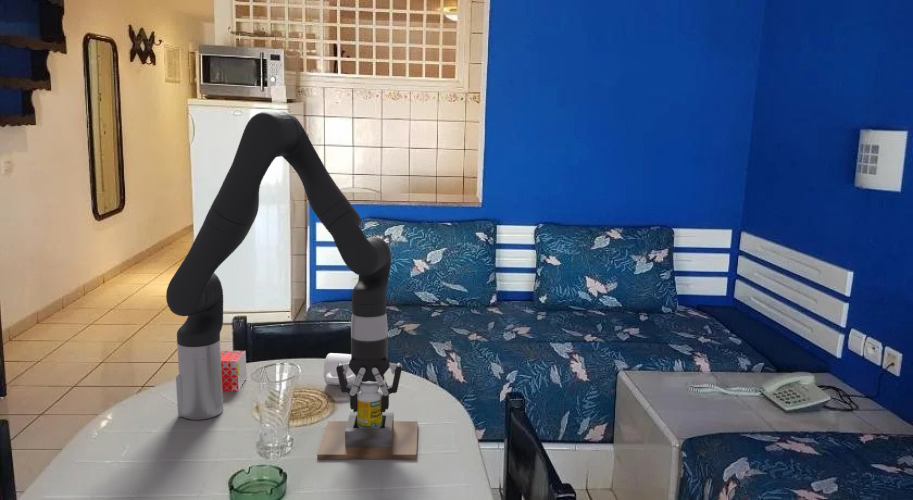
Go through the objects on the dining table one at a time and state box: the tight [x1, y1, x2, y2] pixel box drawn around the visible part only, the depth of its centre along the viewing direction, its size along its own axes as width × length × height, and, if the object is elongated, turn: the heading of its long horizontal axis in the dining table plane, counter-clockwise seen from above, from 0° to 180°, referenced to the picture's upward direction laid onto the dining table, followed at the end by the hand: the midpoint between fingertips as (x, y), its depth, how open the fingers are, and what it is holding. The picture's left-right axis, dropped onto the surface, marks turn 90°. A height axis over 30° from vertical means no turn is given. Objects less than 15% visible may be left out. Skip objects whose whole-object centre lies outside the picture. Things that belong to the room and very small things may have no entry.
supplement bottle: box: [357, 381, 383, 428], centre depth 153 cm, size 5×5×10 cm
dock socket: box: [316, 411, 419, 460], centre depth 154 cm, size 20×16×4 cm
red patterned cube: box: [221, 350, 248, 392], centre depth 184 cm, size 8×8×8 cm
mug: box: [323, 352, 362, 388], centre depth 184 cm, size 12×10×8 cm
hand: (369, 410), depth 153 cm, fingers closed on supplement bottle, 5 cm apart
